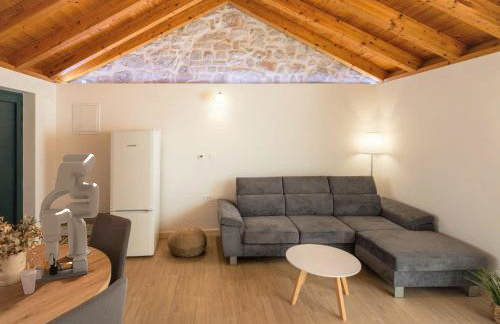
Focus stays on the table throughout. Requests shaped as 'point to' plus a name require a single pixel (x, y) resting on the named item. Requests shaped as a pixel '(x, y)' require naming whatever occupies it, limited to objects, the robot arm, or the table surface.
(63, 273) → the board
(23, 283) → the smoothie
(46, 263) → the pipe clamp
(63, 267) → the tube
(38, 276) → the light grey u-shaped block
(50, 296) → the table surface
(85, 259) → the sleeve
